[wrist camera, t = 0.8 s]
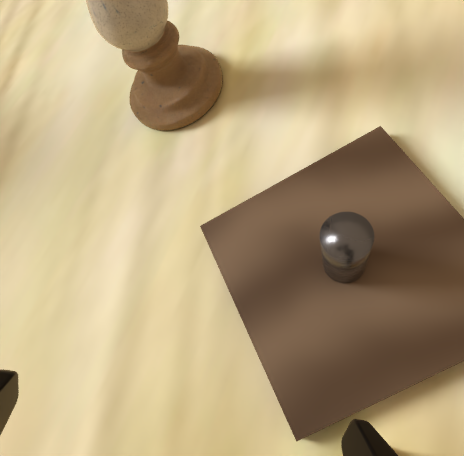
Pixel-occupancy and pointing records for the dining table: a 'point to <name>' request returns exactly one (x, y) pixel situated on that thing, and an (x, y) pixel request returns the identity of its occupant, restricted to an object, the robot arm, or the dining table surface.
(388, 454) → the robot arm
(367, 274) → the post base
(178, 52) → the candle holder
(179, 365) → the dining table surface
